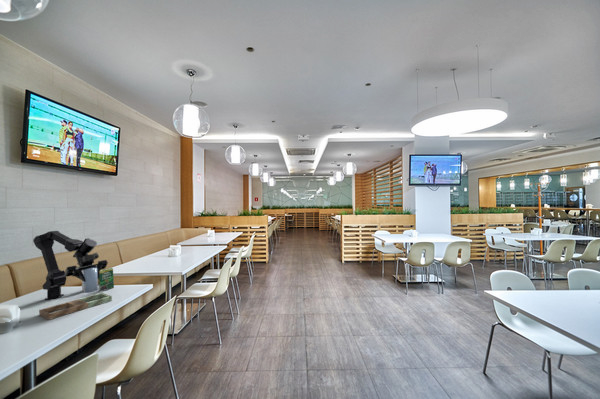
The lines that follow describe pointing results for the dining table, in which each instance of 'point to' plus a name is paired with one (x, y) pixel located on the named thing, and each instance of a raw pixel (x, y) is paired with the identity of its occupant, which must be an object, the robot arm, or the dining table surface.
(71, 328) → the dining table surface
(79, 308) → the caddy
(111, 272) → the coffee box
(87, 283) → the canister
